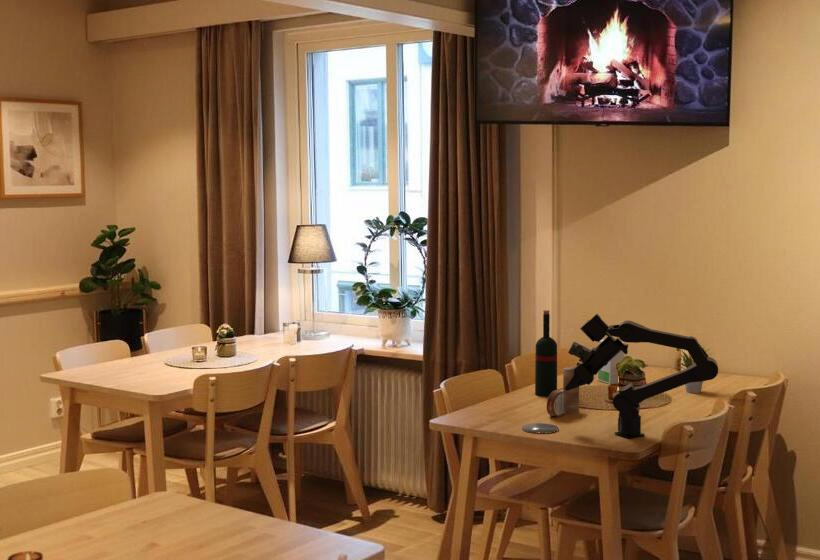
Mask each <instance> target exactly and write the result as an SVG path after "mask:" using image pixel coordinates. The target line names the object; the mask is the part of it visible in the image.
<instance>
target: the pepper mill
mask: <svg viewBox="0 0 820 560" xmlns="http://www.w3.org/2000/svg"><path fill="white" fill-rule="evenodd" d="M574 368H575V367H569V366H568V367H564V368H563V370H562V371H563V372H562V373H563V375H562V379H563V380H562V381H563V382H562V388H563V412H566V413H567V414H575V413H577V414H578V413H579V412H580V386H579V387H577V388H574V389H571V390H568V391H566V390H565V387H566V385H567V384H568V383H569V381H570V380H571V379H572V377H573V376H574Z"/></svg>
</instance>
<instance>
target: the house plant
mask: <svg viewBox="0 0 820 560" xmlns="http://www.w3.org/2000/svg"><path fill="white" fill-rule="evenodd" d="M709 350H711V349H704V351H705V352H706V353H707V352H708V351H709ZM679 351H680V352H681V353H682V354H683V355H682V354H680V353H679V356H681V357H682V361H683V362H678V364H680V365H681V366H679V367H678V369H683V370H685V369H686V368H688V367H689V366H691V365H692V364H693V363H695V362H694V360H693V359H692V357H691V356H688V355H687V354H686V352H684V351H683V349H679ZM712 354H715V352H712V353H707V355H708V356H710V355H712ZM682 366H683V367H682ZM684 367H685V368H684ZM703 383H704V381H702V382H691V383H688V384H685V385H684V387H685V392H686V393H687V394H688V393H689V394H700V393H701V392H702V389H703Z"/></svg>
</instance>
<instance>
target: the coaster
mask: <svg viewBox="0 0 820 560" xmlns="http://www.w3.org/2000/svg"><path fill="white" fill-rule="evenodd" d="M521 430H522V431H524V430H525V431H524V432H526V431H528V432H527V433H529V432H537V433H538V432H540V433H546V432H547V433H548V432H554V431H557V430H558V431H559V427H558V426H557V425H554V424H550V423H544V422H543V423H542V422H540V423H539V422H538V423H536V422H535V423H528V424H527V423H526V424H524V425H523V426H522V429H521ZM558 431H557V432H558ZM554 433H555V432H554ZM548 434H549V433H548Z"/></svg>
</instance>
